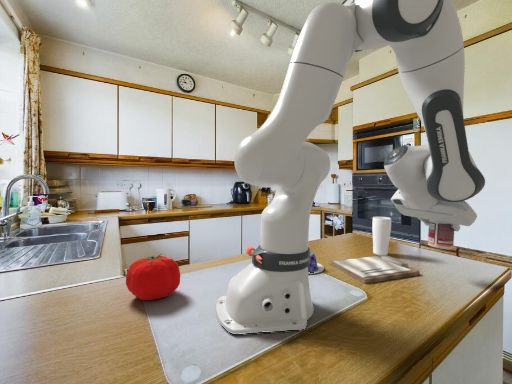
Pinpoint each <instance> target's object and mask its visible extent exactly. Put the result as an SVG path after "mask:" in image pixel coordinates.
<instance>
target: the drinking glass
mask: <svg viewBox="0 0 512 384" xmlns="http://www.w3.org/2000/svg"><path fill="white" fill-rule="evenodd" d="M371 223H372V224H371V225H372V226H371V227H372V228H371V230H372V231H371V232H372V253H373V254H374V255H375V256H378V255H379V256H388V254H389V247H390V246H389V244H390V238H391V231H392V218H391V217H387V216H372V222H371Z"/></svg>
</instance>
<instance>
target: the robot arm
mask: <svg viewBox="0 0 512 384" xmlns="http://www.w3.org/2000/svg"><path fill="white" fill-rule="evenodd" d="M296 40H297V41H296V43H295V45H294V49H293V51H292V54H291V57H290V61H289V64H288V68H287V69H286V70H287V71H286V73H285V77H284V81H283V84H282V87H281V90H280V93H279V95H278V99H277V101H276V103H275V106H274V107H273V108H272V109H273V110H272V111H271V113H270V114H269V116H267V117H268V118H267V119H266V120H265V121H264V123H263V124H262V125H261V126H260V127H259V128H258V129H257V130H255V131H254V132H253V133H251V134H250V135H248V136H247V137H244V138H243V139H242V140H241V142H240V143H239V144H238V146H237V148H236V149H235V153H234V157H233V159H234V161H233V163H234V169H235V171H236V174H237V176H238V177H239V179H240V181H242V182H243V183H245V184H248V185H251V186H256V187H259V188H265V189H266V188H276V190H275V194H274V196H273V199H272V200H271V202H270V203H269V204H268V205H266V206H265V208H264V209H263V211H262V212H261V214H260V232H259V234H260V237H259V242H260V243H259V245H258V247H256V248H254V246H252V245H249V246H247V247H246V248H245V253H246V254H247V255H248V256H249V257H251V262H250V263H249V264H247V266H246V267H244V268H243V269H242V270H240V271H239V272H238V273H237V274H235V275H234V276H233V277H232V278H231V279H230V280H229V282H228V284H227V289H226V295H222V296H220V297H219V298H218V299H217V301H216V306H215V313H217V314H216V317H218V318H217V320H218V319H219V320H218V322H219V321H220V322H219V324H220V323H221V324H222V326H223V327H224V328H225V329H227V330H228V331H230V332H232V333H236V334H238V333H250V332H251V333H252V332H262V331H281V330H282V331H283V330H284V331H285V330H299V331H303V330H302V329H304V330H306V329H307V327H306V326H308V321H309V319H310V318H311V317H312V316H313V314H314V308H315V307H314V305H313V304H314V303H313V300H312V295H311V291H310V290H311V289H310V279H309V272H308V270H309V266H310V252H311V249H310V247H309V237H310V236H309V235H310V234H309V232H310V217H311V211H312V207H313V203H314V201H315V198H316V194H317V192H318V189H319V187H320V185H321V184H322V183H323V181H325V180H326V178H327V177H328V174H329V172H330V170H331V160H330V159H331V158H330V156H329V154H328V152H326V150H324V149H323V148H322V147H319V146H318V145H316V144H314V143H312V142H309V141H306V140H307V139H308V137H309V135H310V134H312V132H313V131H314V130H315V128H317V127H318V126H320V125H321V124H323V123H325V122H326V121H327V120H328V119H329V118H330V116H331V113H332V110H333V107H334V105H335V103H336V99H337V97H338V94H339V91H340V88H341V86H342V83H343V80H344V78H345V75H346V72H347V69H348V66H349V62H350V61H351V59H352V57H353V55H354V53H358V52H362V51H366V50H377V49H381V48H386V47H387V46H389V47H390V48H391V49H392V50H393V52H394V54H395V60H396V65H397V66H396V67H397V71H398V75H399V79H400V82H401V85H402V87H403V90H404V92H405V94H406V96H407V98H408V100H409V101H410V103H411V105H412V107H413V109H414V110H415V112H416V115H418V118H419V120H420V122H421V124H422V126H423V128H424V131H425V135H426V139H427V143H426V144H422V145H410V144H409V145H408V144H402V145H400V146H397V147H396V148H394V149H393V150H391V151H390V152H389V153H388V154H387V156H386V157H385V159H384V162H383V167H384V170H385V173H386V174H387V176H388V178H389V180H390V181H391V183H392V184H393V185H394V187H396V188H397V190H396V191H395V193H394V194H393V195H392V197H391V198H390V201H391V203H392V204H394V206H395V208H396V210H397V211H398V212H399V213H400V214H402V215H403V216H406V217H407V216H408V217H412V218H417V219H418V220H419V221H421V223H423V224H424V225H425V226H428V227H429V220H435V221H440V222H446V223H451V224H452V225H451V226H450V229H451V230H453V231H454V232H459V231H460V230H461V226H465V227H470V226H471V225H473V224H474V223H475V222H476V220H477V218H478V214H477V213H476V211H475V210H474V209H473V208H472V206H471V205H470V204H469V203H468V202H467V200H470V199H472V198H474V197H475V196H476V195H477V194H479V193H480V192H481V191H482V190H483V189H484V187H485V186H486V179H485V176H484V174H483V173H482V171H481V170H480V169H479V168H478V165H477V164H476V162H475V160H474V159H473V157H472V154H471V153H470V151H469V145H468V139H467V131H466V127H465V119H464V94H465V93H464V91H465V90H464V89H465V88H464V87H465V86H464V85H465V72H466V71H465V68H466V67H465V64H466V63H465V60H466V59H465V46H464V36H463V32H462V27H461V23H460V18H459V15H458V12H457V9H456V6H455V5H454V1H453V0H344V1H343V2H342V3H339V2H333V1H329V2H328V1H327V2H323V3H321V4H319V5H316V6H315V7H314V8H313V9H312V10H311V11H310V13H309V14H308V16H307V18H306V20H305V22H304V24H303V26H302V29H301V31H300V33H299V34H298V38H297V39H296ZM307 320H308V321H307ZM221 324H220V325H221ZM222 326H221V327H222ZM223 327H222V328H223ZM224 328H223V329H224ZM305 328H306V329H305ZM225 329H224V330H225ZM285 332H286V331H285Z"/></svg>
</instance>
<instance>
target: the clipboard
mask: <svg viewBox="0 0 512 384" xmlns="http://www.w3.org/2000/svg"><path fill="white" fill-rule="evenodd" d="M329 264H330V266H331V265H332V266H333V267H334V268H336V269H338V270H339V271H341V272H343V273H345V274H347V275H349V276H350V277H352V278H354V279H355V280H358V281H359V282H361V283H363V284H371V283H372V284H373V283H376V282H385V281H389V280H396V279H401V278H409V277H415V276H420V272H421V271H419V270H418V269H414V268H413V267H410V266H409V263H408V262H405V261H403V260H401V259H398V258H395V257H393V256H390V255H386V256H380V255H372V256H371V255H370V256H362V257H354V258H346V259H336V260H330V263H329Z"/></svg>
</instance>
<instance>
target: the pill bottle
mask: <svg viewBox="0 0 512 384" xmlns="http://www.w3.org/2000/svg"><path fill="white" fill-rule="evenodd" d="M451 225H452V224H451V223H446V222H440V221H435V220H429V226H428V232H427V233H428V235H427V245H428V246H430V247H432V248H435V249H442V250H451V249H453V248H454V245H455V244H454V243H455V242H454V241H455V231H453V230H451V229H450V226H451Z"/></svg>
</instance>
